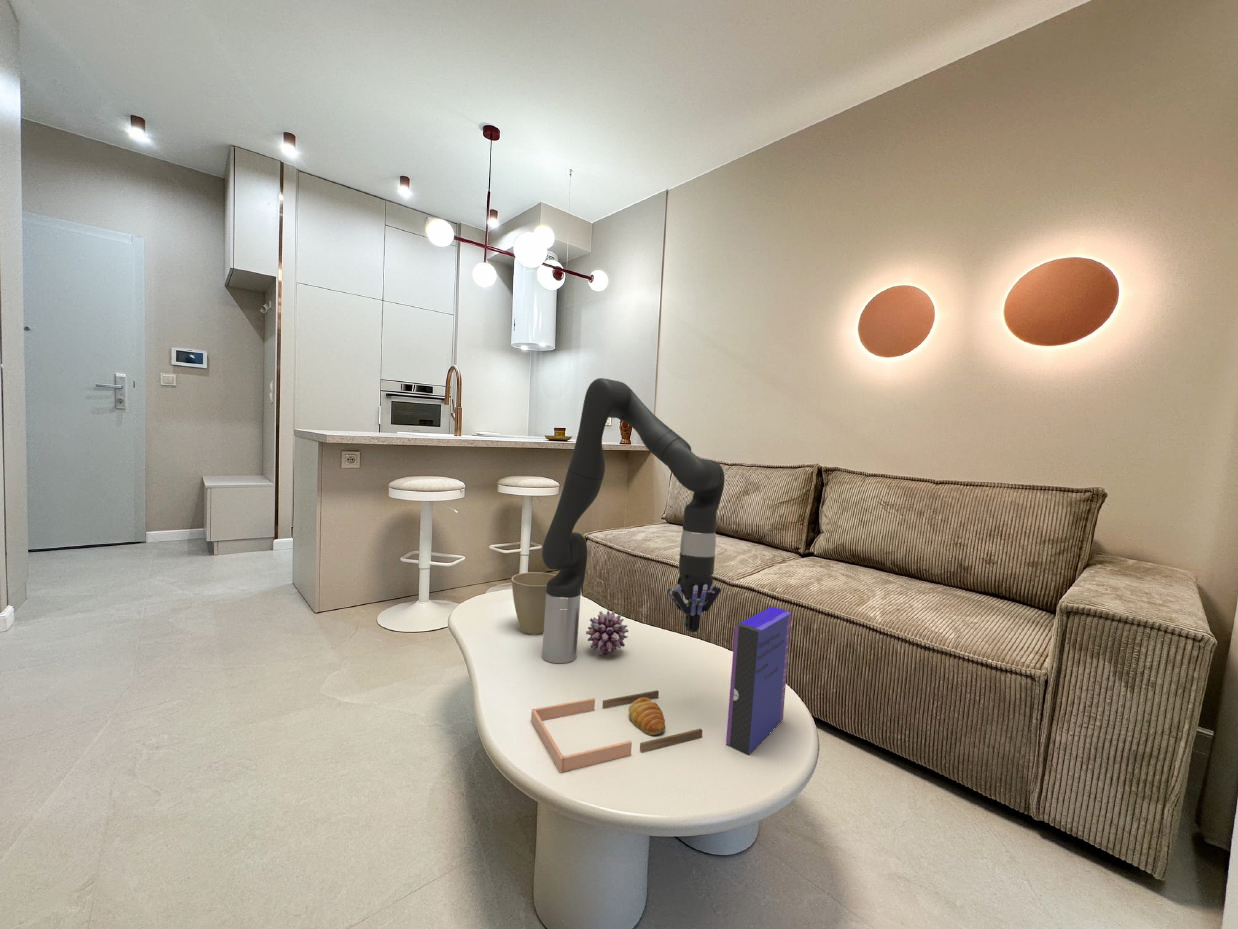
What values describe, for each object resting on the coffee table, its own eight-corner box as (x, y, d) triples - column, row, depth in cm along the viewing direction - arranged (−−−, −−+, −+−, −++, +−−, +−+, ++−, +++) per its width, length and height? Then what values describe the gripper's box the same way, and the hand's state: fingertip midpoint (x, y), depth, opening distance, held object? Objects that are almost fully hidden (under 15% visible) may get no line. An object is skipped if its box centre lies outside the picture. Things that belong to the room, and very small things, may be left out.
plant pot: (503, 624, 153) (506, 573, 152) (549, 620, 159) (552, 571, 159) (514, 642, 139) (518, 586, 139) (564, 637, 145) (568, 583, 145)
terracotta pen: (530, 721, 100) (531, 709, 100) (593, 709, 106) (594, 698, 106) (560, 772, 85) (561, 759, 85) (630, 755, 91) (631, 742, 91)
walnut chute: (602, 707, 107) (602, 700, 107) (657, 696, 114) (657, 690, 114) (641, 752, 92) (641, 744, 92) (701, 737, 98) (702, 730, 98)
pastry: (673, 735, 99) (674, 716, 99) (642, 740, 96) (644, 721, 96) (653, 711, 108) (654, 694, 108) (624, 715, 105) (625, 698, 105)
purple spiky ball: (628, 647, 141) (631, 606, 141) (624, 665, 129) (628, 620, 129) (588, 643, 142) (591, 602, 142) (581, 660, 130) (584, 615, 130)
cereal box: (761, 712, 110) (770, 606, 109) (782, 720, 107) (791, 611, 106) (725, 744, 97) (735, 624, 96) (748, 755, 94) (758, 631, 93)
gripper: (711, 547, 112) (705, 622, 113) (662, 549, 106) (656, 628, 107) (732, 554, 106) (726, 634, 106) (681, 556, 100) (675, 641, 100)
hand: (691, 631), depth 107 cm, fingers closed
